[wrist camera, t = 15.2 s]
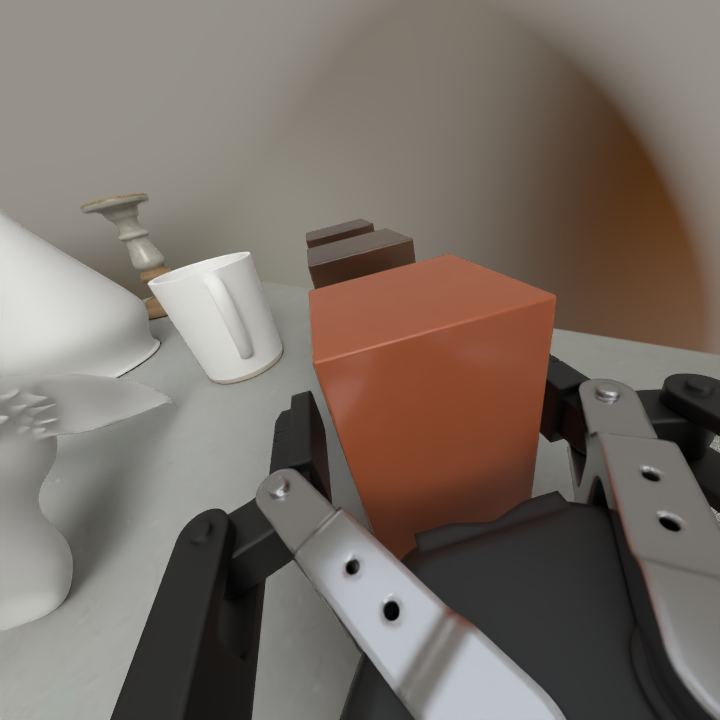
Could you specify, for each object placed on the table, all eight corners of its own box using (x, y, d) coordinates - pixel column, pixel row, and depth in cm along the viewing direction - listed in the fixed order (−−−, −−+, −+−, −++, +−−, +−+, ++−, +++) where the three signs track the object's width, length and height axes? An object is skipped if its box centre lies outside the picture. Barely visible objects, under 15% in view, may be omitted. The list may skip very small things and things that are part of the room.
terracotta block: (462, 465, 16) (449, 252, 10) (523, 567, 11) (559, 295, 6) (371, 492, 15) (307, 290, 10) (397, 606, 11) (311, 363, 6)
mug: (200, 365, 34) (148, 277, 29) (273, 334, 37) (239, 249, 32) (214, 411, 25) (144, 296, 20) (308, 364, 28) (268, 256, 23)
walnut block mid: (410, 375, 23) (386, 227, 18) (434, 415, 19) (413, 237, 14) (349, 392, 23) (306, 248, 18) (359, 437, 19) (307, 266, 13)
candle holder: (147, 309, 66) (85, 210, 55) (204, 291, 69) (156, 194, 59) (137, 325, 55) (59, 207, 45) (204, 303, 59) (146, 189, 49)
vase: (15, 430, 30) (-324, 126, 17) (17, 386, 41) (-189, 181, 29) (184, 347, 40) (45, 115, 27) (148, 330, 51) (38, 160, 39)
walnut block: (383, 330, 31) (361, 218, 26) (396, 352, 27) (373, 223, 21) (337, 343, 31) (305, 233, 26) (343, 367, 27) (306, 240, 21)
